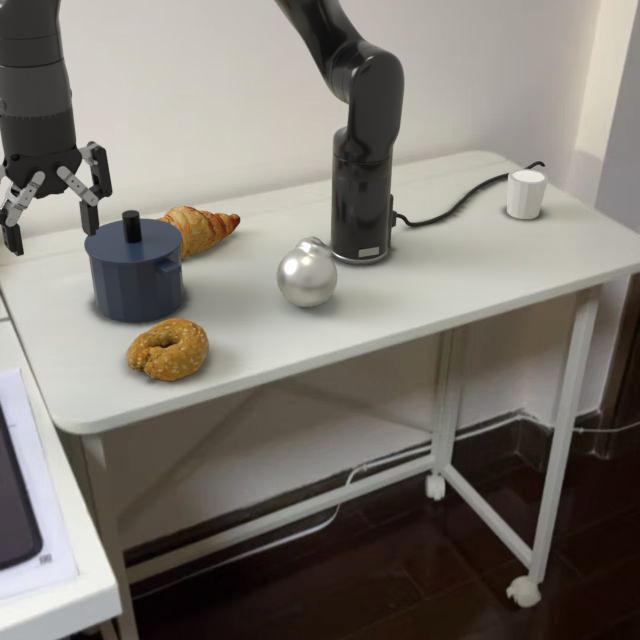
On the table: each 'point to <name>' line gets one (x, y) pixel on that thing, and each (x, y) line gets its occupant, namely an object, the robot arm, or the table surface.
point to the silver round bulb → (307, 273)
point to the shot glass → (525, 193)
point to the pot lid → (133, 241)
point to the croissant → (200, 228)
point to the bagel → (169, 349)
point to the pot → (138, 289)
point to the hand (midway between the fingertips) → (54, 243)
